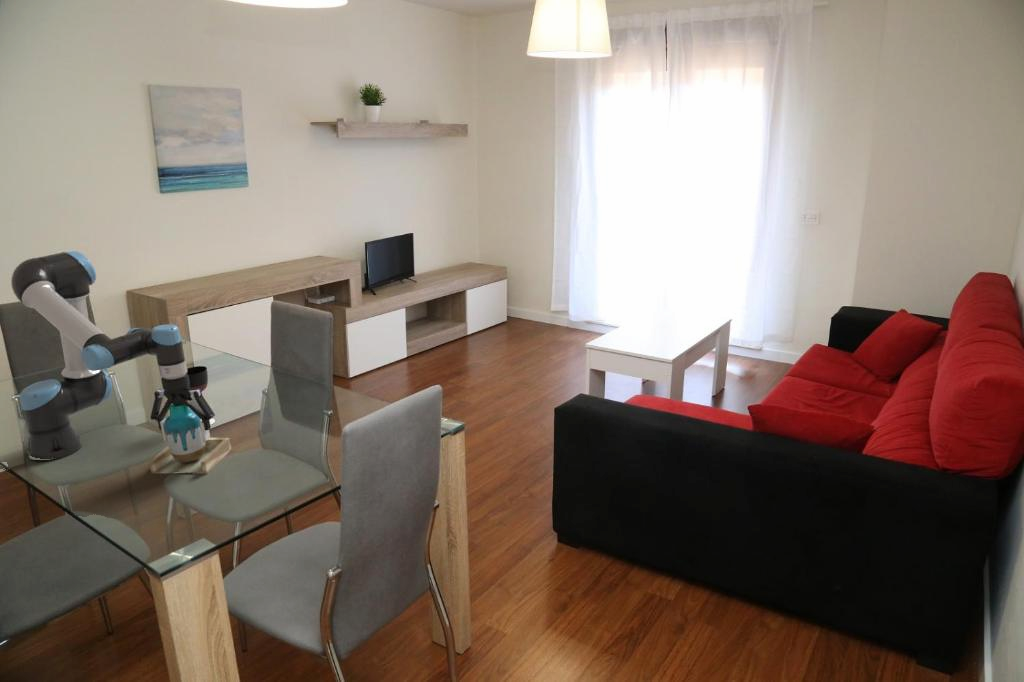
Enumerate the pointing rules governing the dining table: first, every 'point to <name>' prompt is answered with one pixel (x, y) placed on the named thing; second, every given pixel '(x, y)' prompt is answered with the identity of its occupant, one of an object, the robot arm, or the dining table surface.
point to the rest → (203, 465)
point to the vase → (184, 434)
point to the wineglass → (198, 380)
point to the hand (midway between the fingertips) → (187, 439)
